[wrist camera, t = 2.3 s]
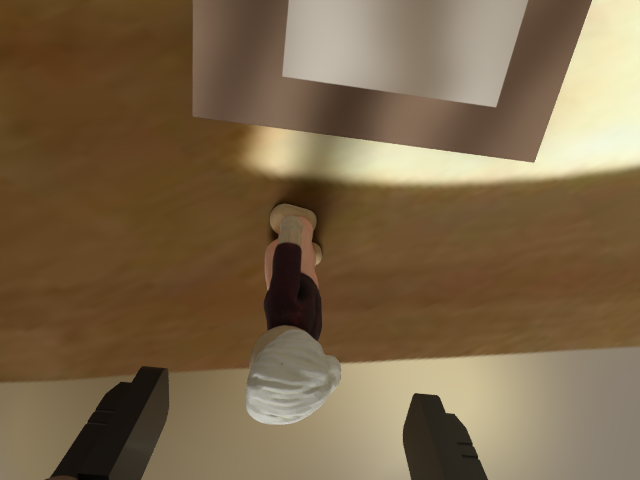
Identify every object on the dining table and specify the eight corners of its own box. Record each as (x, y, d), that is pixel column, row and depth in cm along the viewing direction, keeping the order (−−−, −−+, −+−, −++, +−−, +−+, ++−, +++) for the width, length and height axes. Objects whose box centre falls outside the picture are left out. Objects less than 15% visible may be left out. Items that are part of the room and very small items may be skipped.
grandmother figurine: (245, 197, 22) (172, 334, 11) (308, 178, 22) (304, 298, 10) (287, 304, 25) (267, 503, 14) (344, 289, 25) (372, 480, 13)
